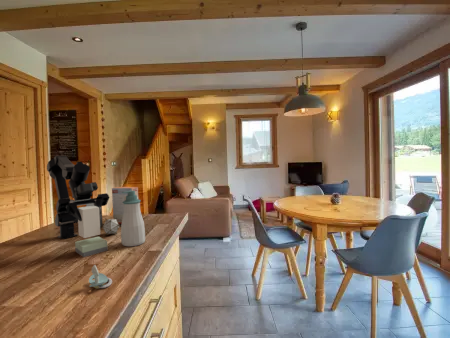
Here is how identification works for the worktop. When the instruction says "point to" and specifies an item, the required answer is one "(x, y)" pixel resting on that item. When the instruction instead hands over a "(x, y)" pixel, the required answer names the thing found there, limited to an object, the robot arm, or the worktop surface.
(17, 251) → the worktop surface
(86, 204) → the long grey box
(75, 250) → the slab lower
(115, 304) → the worktop surface
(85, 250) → the slab upper
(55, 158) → the robot arm
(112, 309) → the worktop surface
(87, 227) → the post
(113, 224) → the game die
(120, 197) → the cracker box
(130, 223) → the soap bottle
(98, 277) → the pacifier
